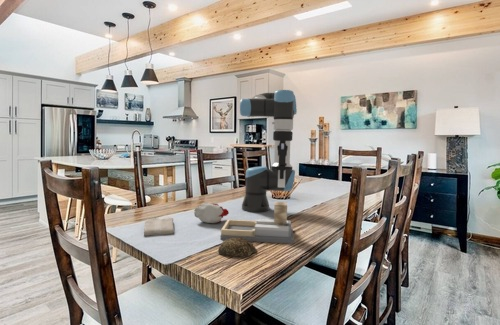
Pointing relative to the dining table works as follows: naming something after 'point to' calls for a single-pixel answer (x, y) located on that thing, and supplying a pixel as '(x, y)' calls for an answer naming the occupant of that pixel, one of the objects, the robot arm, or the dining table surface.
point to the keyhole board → (258, 231)
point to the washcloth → (158, 226)
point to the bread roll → (236, 248)
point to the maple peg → (280, 213)
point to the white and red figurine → (210, 213)
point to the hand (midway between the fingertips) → (281, 184)
